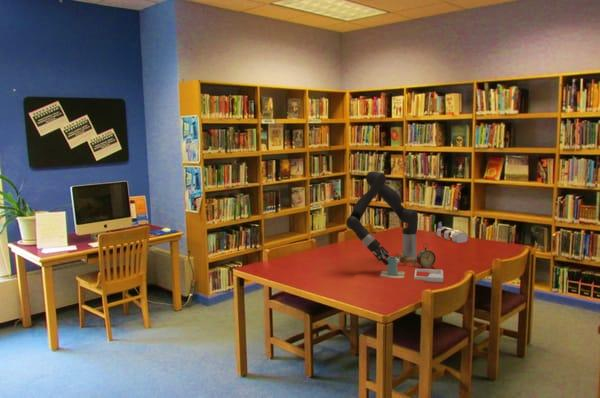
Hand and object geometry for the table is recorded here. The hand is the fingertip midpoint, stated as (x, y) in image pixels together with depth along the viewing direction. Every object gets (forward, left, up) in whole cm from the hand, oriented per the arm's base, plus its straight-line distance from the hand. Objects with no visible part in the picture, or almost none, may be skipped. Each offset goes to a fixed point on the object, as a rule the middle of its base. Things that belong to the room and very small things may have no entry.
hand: (389, 262), depth 296 cm
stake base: (0, +2, -8) cm, 9 cm away
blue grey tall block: (0, +2, -7) cm, 7 cm away
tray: (0, +23, -8) cm, 24 cm away
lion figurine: (-19, +10, -9) cm, 23 cm away
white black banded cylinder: (-104, +39, -9) cm, 111 cm away
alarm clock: (-20, +21, -9) cm, 30 cm away
